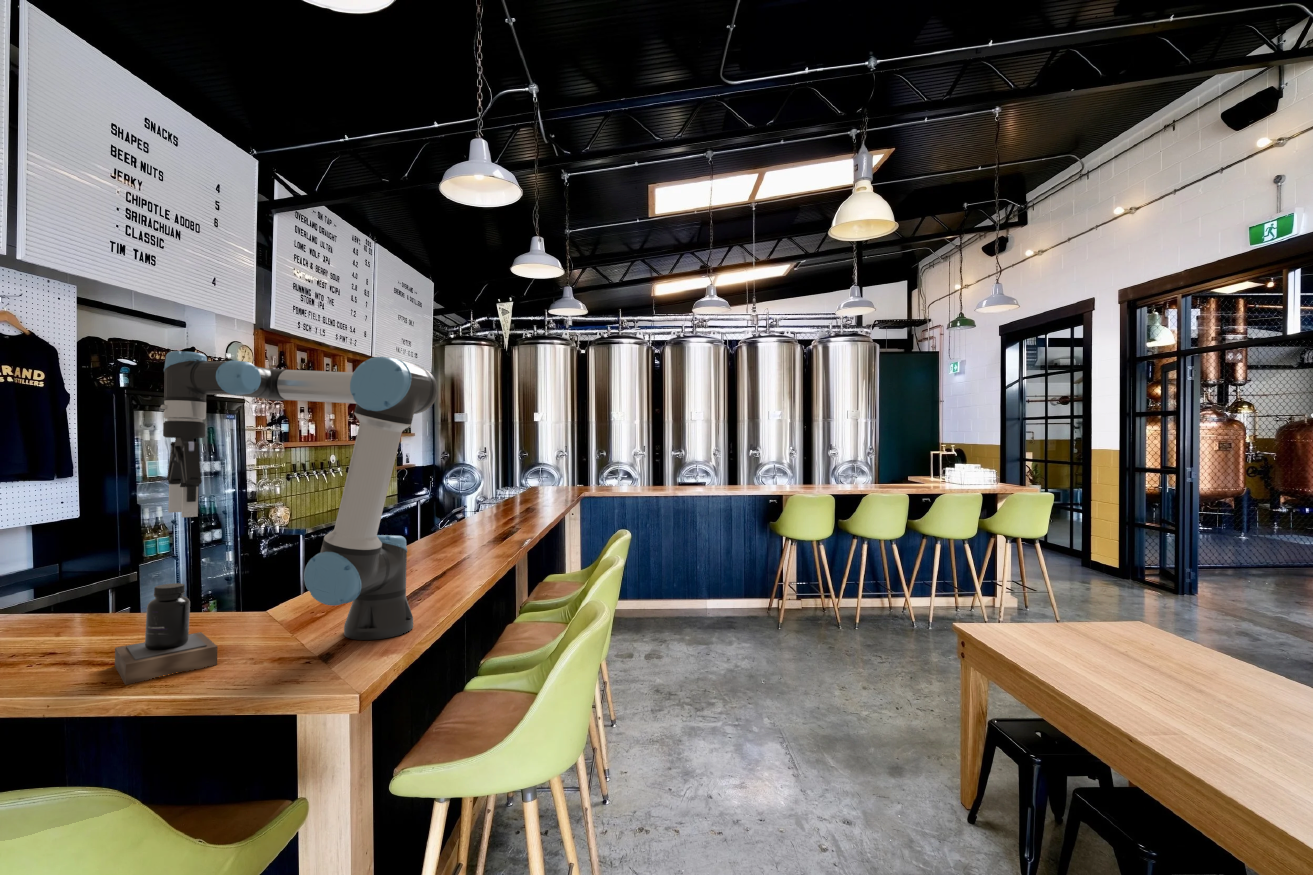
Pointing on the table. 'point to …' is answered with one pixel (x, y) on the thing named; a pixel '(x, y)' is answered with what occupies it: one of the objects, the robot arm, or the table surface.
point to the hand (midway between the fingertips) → (182, 514)
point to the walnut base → (164, 659)
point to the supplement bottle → (167, 618)
